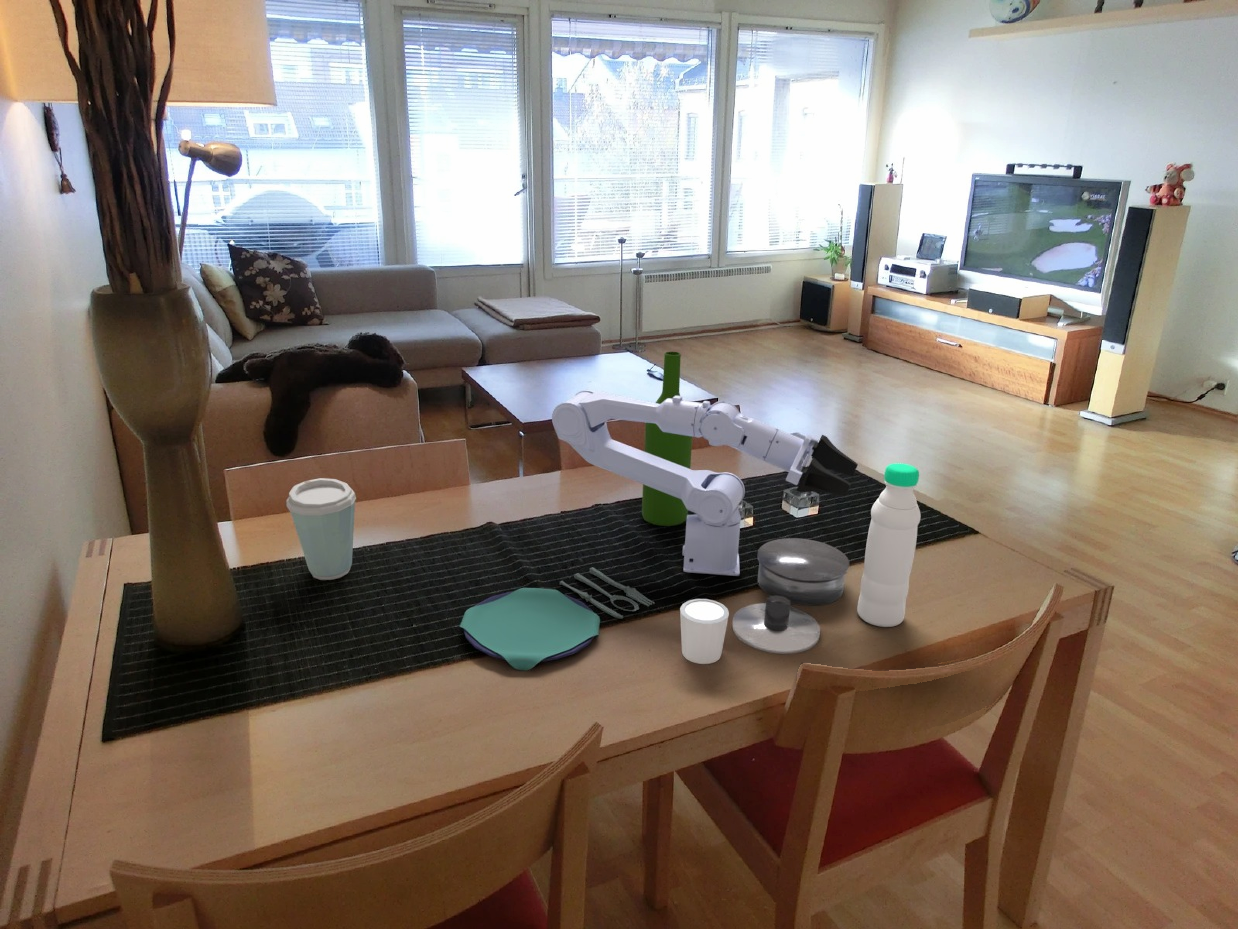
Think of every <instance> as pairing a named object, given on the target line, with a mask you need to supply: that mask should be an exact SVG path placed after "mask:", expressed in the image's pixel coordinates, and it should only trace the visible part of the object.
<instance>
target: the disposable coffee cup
mask: <svg viewBox="0 0 1238 929" xmlns="http://www.w3.org/2000/svg"><path fill="white" fill-rule="evenodd" d="M285 500H286V507H287V509H288V511H289V512H290V514H291V517H292V518H291V519H292V521H293V524H294V527H295V530H296V533H297V538H298V540H299V543H300V545H301V549H302V553H303V556H304V559H305V562H306V565H307V568H308V571H309V572H310V574H311V575H312V578H314V579H318V580H320V581H327V580H329V581H331V580H336V579H340V578H342V577H344V576H345V575H347V574H349V572H350V570H351V567H352V565H353V549H354V548H353V547H354V531H355V530H354V529H355V528H354V527H355V526H354V525H355V510H356V508H355V507H356V506H355V504H356V500H357V497H356V492H355V491H354V490H353V488H351V487H350V485H349V484H348V483H346V482H344V481H341V480H338V479H336V478H324V477H322V478H321V477H320V478H315V479H310V480H305V481H302V482H300V483H298V484H295V485H294V486H293V487H292V488H291V490H290V491H289V492H288V497H287V499H285Z"/></svg>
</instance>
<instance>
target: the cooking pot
mask: <svg viewBox="0 0 1238 929" xmlns="http://www.w3.org/2000/svg"><path fill="white" fill-rule="evenodd" d="M757 561H758V563H759V565H758V572H757V574H758V575H757V584H758V583H759V584H758V586H759V588H760V589H761V590H762V591H763V592H764V593H765V594H767V596H769V597H770V596H783V597H785V598H787V599H789V600H790V602H791V605H796V606H805V607H806V606H809V607H814V606H815V607H817V606H825V605H828V604H831V603H834V602H836V601H838V600H839V599H840V598H841V597H842V595H843V593H844V587H845V580H846V574H847V573H848V572H849V568H850V560H849V558H848V557H847V555H846V554H845V553H844V552H842V551H841V550H840V549H838V548H836V547H835V546H833V545H831V544H830V545H829V544H827V543H825V542H822V541H817V540H812V539H808V538H798V537H795V538H794V537H788V538H787V537H786V538H785V537H784V538H779V539H774V540H769V541H767V542H766V543H764V544H763V545H761V546H760V547H759V548H758V551H757Z"/></svg>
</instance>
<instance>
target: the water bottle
mask: <svg viewBox="0 0 1238 929" xmlns="http://www.w3.org/2000/svg"><path fill="white" fill-rule="evenodd" d="M883 477H884V479H883V480H884V484H885V486H886V487H885V488H884V489H883V490H882V491H881V493H880V495H878V496H879V497H878V498H877V499H876V501H875V502H873V504H872V507H871V509H870V515H871V516H870V517H871V520H870V523H869V528H868V534H867V539H866V545H865V546H866V547H865V553H864V562H863V563H864V566H863V569H864V570H863V573H862V576H861V580H860V594H859V597H858V601H857V609H856V611H857V614H858V616H859V617H860V619H862V620H863V621H864V622H865V623H867V624H870V625H872V626H876V627H881V628H891V627H895V626H898V625H901V623H902V622H904V618H905V613H906V605H907V604H906V603H907V602H906V600H907V597H908V595H909V589H910V577H911V572H912V568H913V565H914V564H913V563H914V558H915V553H916V548H917V547H916V546H917V538H918V537H917V536H918V526H919V524H920V522H921V517H922V516H921V510H920V508H919V505H918V502H917V498H916V495H915V493H914V489H915V488H917V484H918V482H919V479H920V472H919V470H918V468H916V467H915V466H913V465H911V464H907V463H898V462H897V463H896V462H895V463H890V464H888V465H887V466H886V467H885V471H884V475H883Z"/></svg>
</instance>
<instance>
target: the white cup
mask: <svg viewBox="0 0 1238 929" xmlns="http://www.w3.org/2000/svg"><path fill="white" fill-rule="evenodd" d="M679 612H680V613H679V614H680V616H679V617H680V635H681V636H680V637H681V638H680V639H681V640H680V641H681V653H682V656H683V657H684V658H685V659H686V660H688V661H689V662H692V663H695V664H698V665H699V664H700V665H705V664H706V665H708V664H709V665H710V664H713V663H716V662H717V661H718V660H720V658H721V657H722V653H723V647H724V643H725V642H724V641H725V638H726V632H727V626H728V621H729V616H730V615H729V614H730V613H729V609H728V608H727V607H726V606H725V605H724V604H723V603H721V602H718V601H716V600H713V599H708V598H695V599H689V600H687V601H686V602H684V603H682V605H681V606H680V608H679Z"/></svg>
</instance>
